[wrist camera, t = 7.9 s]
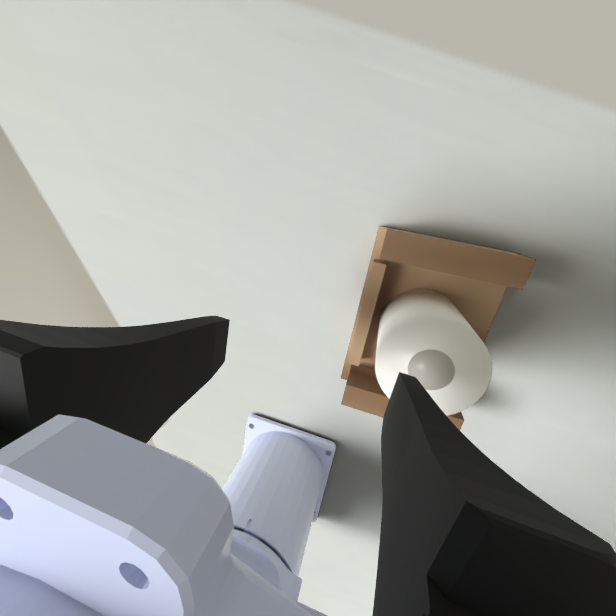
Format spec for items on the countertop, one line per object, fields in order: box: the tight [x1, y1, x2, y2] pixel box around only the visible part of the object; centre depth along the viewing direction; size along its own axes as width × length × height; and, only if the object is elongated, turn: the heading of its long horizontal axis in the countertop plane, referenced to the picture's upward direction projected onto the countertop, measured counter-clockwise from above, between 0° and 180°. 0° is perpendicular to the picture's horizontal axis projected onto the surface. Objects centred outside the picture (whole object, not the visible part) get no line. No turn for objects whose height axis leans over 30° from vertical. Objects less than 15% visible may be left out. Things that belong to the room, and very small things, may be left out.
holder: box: [341, 226, 536, 430], centre depth 18 cm, size 11×8×4 cm
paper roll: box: [375, 289, 492, 416], centre depth 16 cm, size 5×5×6 cm
